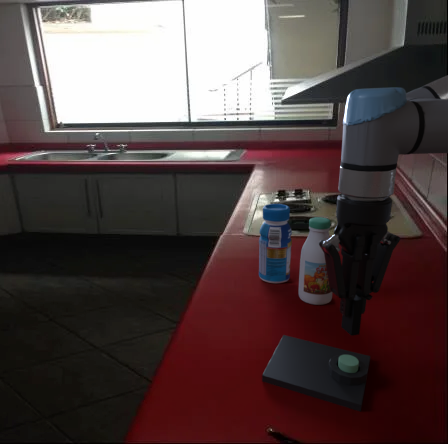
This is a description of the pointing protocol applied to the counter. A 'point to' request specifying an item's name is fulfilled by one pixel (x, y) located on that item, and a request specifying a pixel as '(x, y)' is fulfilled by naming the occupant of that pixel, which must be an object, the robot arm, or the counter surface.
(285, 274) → the beverage bottle
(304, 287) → the milk bottle
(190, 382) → the counter surface
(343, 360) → the button
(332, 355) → the scale
